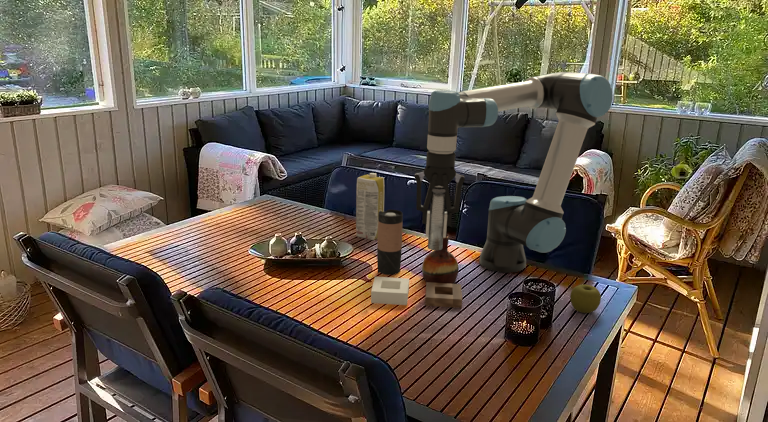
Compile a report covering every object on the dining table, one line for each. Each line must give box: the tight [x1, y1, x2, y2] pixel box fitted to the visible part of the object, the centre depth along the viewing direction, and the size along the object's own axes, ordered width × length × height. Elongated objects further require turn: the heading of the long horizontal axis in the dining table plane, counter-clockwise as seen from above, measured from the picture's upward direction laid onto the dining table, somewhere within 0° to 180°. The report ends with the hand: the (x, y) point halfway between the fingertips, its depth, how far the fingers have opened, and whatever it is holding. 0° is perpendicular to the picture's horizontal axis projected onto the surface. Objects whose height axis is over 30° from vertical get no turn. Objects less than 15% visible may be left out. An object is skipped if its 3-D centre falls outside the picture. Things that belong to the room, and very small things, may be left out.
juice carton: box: [355, 172, 385, 241], centre depth 207 cm, size 9×8×24 cm
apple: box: [569, 284, 602, 314], centre depth 155 cm, size 8×8×7 cm
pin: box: [427, 186, 447, 251], centre depth 152 cm, size 5×5×17 cm
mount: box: [424, 281, 463, 309], centre depth 159 cm, size 10×10×4 cm
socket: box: [370, 276, 410, 306], centre depth 160 cm, size 10×10×4 cm
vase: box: [421, 233, 459, 284], centre depth 170 cm, size 11×11×15 cm
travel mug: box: [376, 209, 404, 276], centre depth 175 cm, size 8×8×20 cm
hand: (435, 235), depth 153 cm, fingers closed on pin, 4 cm apart
